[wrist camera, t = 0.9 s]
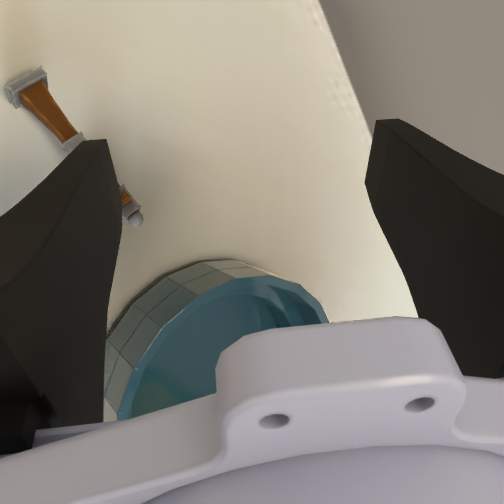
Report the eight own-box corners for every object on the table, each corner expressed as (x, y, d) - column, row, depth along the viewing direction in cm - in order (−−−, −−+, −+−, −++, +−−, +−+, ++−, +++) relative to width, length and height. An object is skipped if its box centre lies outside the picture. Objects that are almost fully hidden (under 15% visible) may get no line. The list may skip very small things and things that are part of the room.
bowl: (215, 499, 35) (250, 542, 31) (32, 436, 26) (52, 486, 22) (323, 324, 37) (367, 345, 34) (192, 211, 28) (232, 223, 25)
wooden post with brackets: (117, 246, 25) (127, 233, 21) (15, 122, 24) (4, 83, 20) (144, 226, 26) (159, 209, 22) (46, 104, 25) (41, 62, 20)
